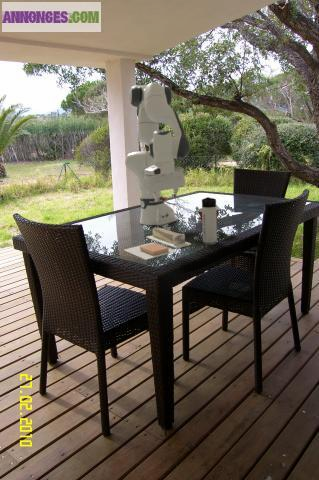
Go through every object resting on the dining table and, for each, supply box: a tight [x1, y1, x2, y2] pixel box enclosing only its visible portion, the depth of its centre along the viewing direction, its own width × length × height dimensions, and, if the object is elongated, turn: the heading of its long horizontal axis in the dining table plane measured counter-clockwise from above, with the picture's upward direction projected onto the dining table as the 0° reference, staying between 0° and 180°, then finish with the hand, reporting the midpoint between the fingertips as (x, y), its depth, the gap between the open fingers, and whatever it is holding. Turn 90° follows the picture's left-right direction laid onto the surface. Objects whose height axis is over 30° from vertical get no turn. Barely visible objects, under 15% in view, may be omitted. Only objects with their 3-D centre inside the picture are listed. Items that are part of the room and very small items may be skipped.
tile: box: [140, 242, 170, 255], centre depth 168 cm, size 8×2×10 cm
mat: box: [123, 241, 177, 260], centre depth 169 cm, size 16×18×1 cm
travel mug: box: [201, 196, 218, 246], centre depth 175 cm, size 6×7×20 cm
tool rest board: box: [145, 234, 192, 249], centre depth 181 cm, size 8×24×1 cm, turn 35°
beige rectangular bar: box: [152, 227, 186, 245], centre depth 181 cm, size 6×19×4 cm, turn 35°
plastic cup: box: [197, 206, 221, 224], centre depth 193 cm, size 11×11×12 cm
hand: (165, 199), depth 176 cm, fingers open, 8 cm apart
